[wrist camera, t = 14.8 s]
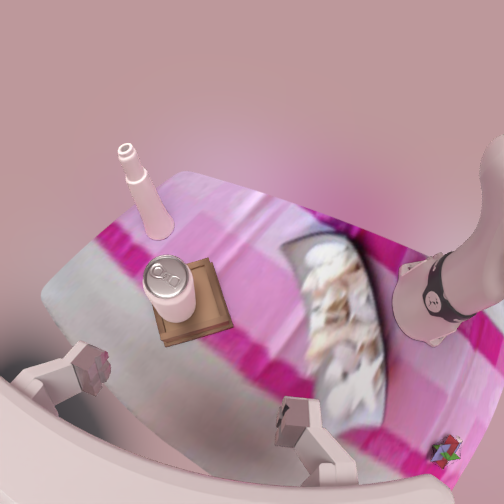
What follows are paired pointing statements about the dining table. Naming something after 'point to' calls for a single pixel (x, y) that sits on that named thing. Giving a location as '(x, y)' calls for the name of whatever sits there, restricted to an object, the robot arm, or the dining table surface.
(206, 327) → the pedestal
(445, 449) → the geometric puzzle
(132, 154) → the pink bottle
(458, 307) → the robot arm
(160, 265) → the can
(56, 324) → the dining table surface
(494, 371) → the dining table surface
